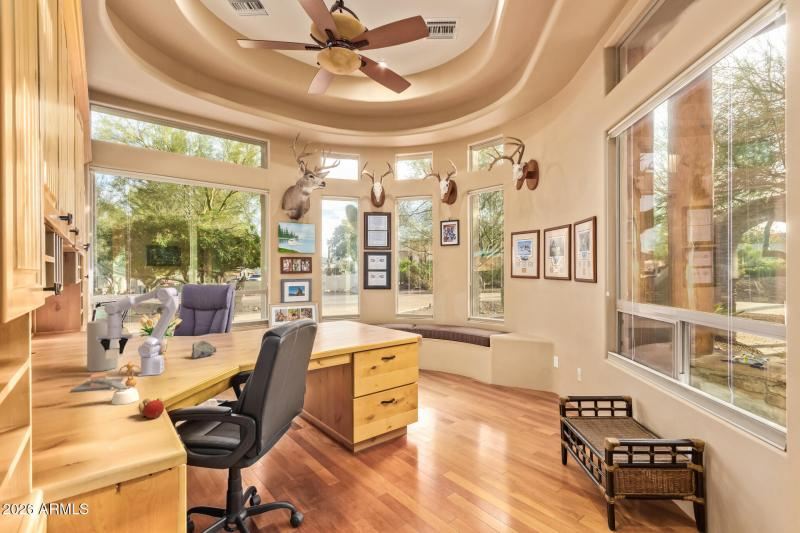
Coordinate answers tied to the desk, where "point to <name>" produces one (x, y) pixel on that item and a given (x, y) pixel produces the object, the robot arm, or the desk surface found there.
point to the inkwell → (120, 396)
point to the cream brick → (113, 353)
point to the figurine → (131, 381)
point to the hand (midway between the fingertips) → (114, 354)
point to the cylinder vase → (99, 348)
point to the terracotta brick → (96, 376)
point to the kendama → (151, 408)
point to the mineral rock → (202, 349)
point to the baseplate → (91, 388)
